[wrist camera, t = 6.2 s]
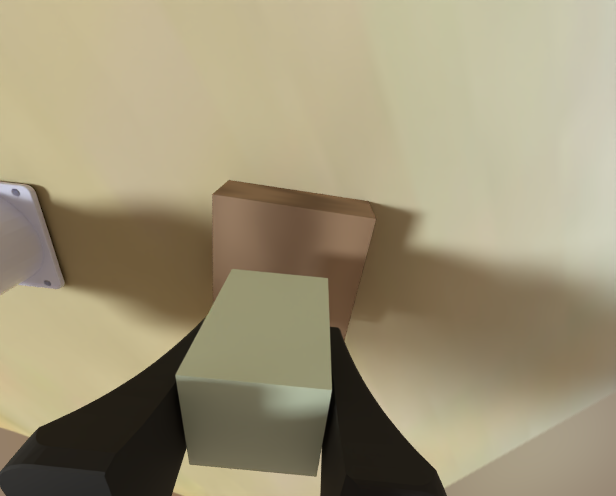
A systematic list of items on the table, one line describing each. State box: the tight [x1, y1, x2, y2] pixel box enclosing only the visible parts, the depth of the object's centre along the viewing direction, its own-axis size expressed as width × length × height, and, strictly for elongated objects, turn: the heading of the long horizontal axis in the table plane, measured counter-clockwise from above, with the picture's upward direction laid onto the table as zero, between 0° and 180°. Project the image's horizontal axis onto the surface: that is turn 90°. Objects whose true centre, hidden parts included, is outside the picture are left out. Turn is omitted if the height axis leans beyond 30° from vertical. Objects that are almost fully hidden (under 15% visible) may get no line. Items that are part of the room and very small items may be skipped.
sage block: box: [175, 269, 332, 476], centre depth 12 cm, size 4×4×6 cm
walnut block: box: [212, 180, 376, 340], centre depth 20 cm, size 9×9×4 cm
